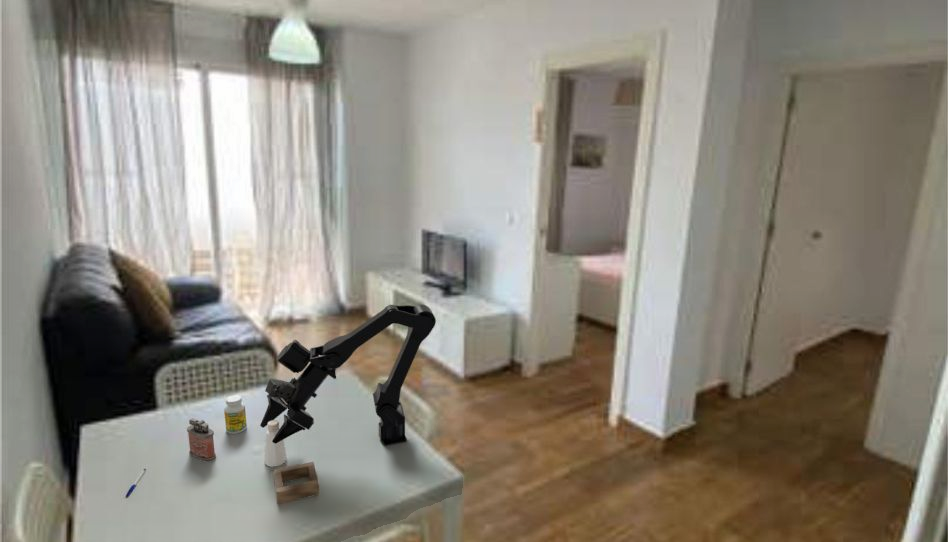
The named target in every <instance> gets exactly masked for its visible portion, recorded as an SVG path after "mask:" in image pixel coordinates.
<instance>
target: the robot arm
mask: <svg viewBox="0 0 948 542" xmlns="http://www.w3.org/2000/svg"><path fill="white" fill-rule="evenodd" d="M436 323H437V320H436V317H435V314H434V313H433V312H432V310H431V308H430V307H429V306H428V305H426V304H418V305H416V306H415V305H406V304H405V305H396V304H388V305H387V306H385V307H384V308H383V309H382V310H381V311H379V312H378V313H376V314H375V315H374V316H372V317H370V318H369V319H367V320H366V321H364V322H363V323H362V324H360V325H359V326H357V327H356V328H355V329H352V331H350V332H349V333H347V334H344V335H340V336H337V337H335V338H333V339H331V340H329V341H327V342H325V343H324V344H323V345H318V346H313V347H311V348H309V349H308V348H307V347H305V346H304V345H302V344H301V343H300V342H299V341H298V340H297V339H293V341H292V342H290V343H289V344H287V345H285V346H284V347H283V349H281V351H280V352H279V354H278V355H277V357H276V359H275V360H276V362H277V363H279V364H281V365H282V366H283V367H285V368H286V369H288V371H290V372H292V373H293V374H299V373H301V374H300V375H299V376H298V377H297V378H295V377H293V378H292V379H290V381H285V380H282V379H275V378H269V380H268V382H267V385H266V387H265V390H264V392H266V393H267V394H266V398H267V402H268V405H267V408H266V410H265V412H264V415H263V418H262V419H261V422H260V428H265V427H268V425H267V423H268V422H269V421H272V420H276V419H277V418H278V417H280V415H281V414H283V413H284V412H285V411H286V410H287V412H286V414H283V423H282V425H281V426H280V427H279V431H278V432H277V434H276V435H275V437H274V439H273V441H272V442H273V443H275V444H276V443H278V442H280V441H282V440H285V439H287V438H288V437H291V436H292V435H295V434H296V433H298V432H301V431H305V430H310V429H311V428H312V426H313V425H314V424H315V420H314V417H313V416H312V415H311V414H310V413H309V412H307V411H306V410H307V408H308V407H306V405H307V403H308V402H309V400H311V398H315V399H316V397H317V396H318V394H317V393H316V391H317V390H319V388H320V387H321V385H322V384H323V382H324V381H325V380H326V379H327V378H328V377H331V378H332V379H334V380H336V379H337V373H336V369H337V370H338V368H340V367H342V366H343V365H344V364H345V363H346V362H347V361H348V360H349V359H350V358H351V357H352V356H353V354H354V352H355V351H356V350H357V349H358V348H360V347H361V346H363V345H364V344H365V343H367V342H368V341H370V340H371V339H373V338H374V337H375V336H377V335H379V334H380V333H382V332H383V331H384V330H386V329H387V328H388V327H390V326H391V325H393V324H397V325H401V326H403V327H404V326H405V327H407V334H406V337H405V339H404V340H403V343H402V345H401V348H400V349H399V352H398V354H397V356H396V359H395V360H394V361H395V362H394V364H393V366H392V368H391V370H390V373H389V375H388V377H387V379H386V381H384V382H383V383H380V382H377V386H376V389H375V391H374V392H373V393H372V397H373V403H374V409H375V413H376V415H377V417H378V418H380V420H379V421H380V422H378V437H379V439H380V441H382V444H383V446H388V445H393V444H398V443H404V442H407V441H408V438H407V437H406V415H405V413H404V409H403V405H402V403H401V402H400V399H401V398H400V397H401V390H402V387H403V385H404V382H405V381H406V377H407V375H408V373H409V371H410V369H411V366H412V365H413V362H414V359H415V357H416V355H417V353H418V351H419V348H420V347H421V344H422V343H423V341H424V340H425V339H427V338H428V336H429V335H430V334H431V332H432V331H433V329H434V328H435V326H436Z"/></svg>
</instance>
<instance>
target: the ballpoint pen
mask: <svg viewBox="0 0 948 542" xmlns="http://www.w3.org/2000/svg"><path fill="white" fill-rule="evenodd" d="M146 471H147V469H146V468H144V469H142V471H141V472H140V474H139V475H138V476H137V478H136V480H135V482H134V483H133V484H132V485H131V486H130V488H129V489H128V491H127V492H126V494H125V498H128V497H129V496H130V495H132V493H133V491H134V489H135V488H136V487H137V484H138V483H139V481H140V480H141V478H142V477H143V475H144V474H145V472H146Z"/></svg>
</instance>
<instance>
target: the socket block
mask: <svg viewBox="0 0 948 542" xmlns="http://www.w3.org/2000/svg"><path fill="white" fill-rule="evenodd" d="M273 477H274V488H275V494H276V495H275V496H276V503H277V505H279V504H283V503H289V502H291V501H297V500H301V499H304V498H305V499H307V498H310V497H313V496H319V495H320V484H319V483H320V482H319V478H318V475H317V471H316V467H315V462H314V461H310V462H305V463H300V464H295V465H290V466H286V467H285V466H284V467H280V468H275V469H273ZM306 478H308V481H304V482H301V483H296V484H290V485H287V486H284V484H283V483H286V482H285V481H288V482H292V481H297V480H301V479H306ZM291 480H292V481H291ZM282 482H283V483H282ZM288 501H289V502H288Z"/></svg>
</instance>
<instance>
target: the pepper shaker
mask: <svg viewBox="0 0 948 542" xmlns="http://www.w3.org/2000/svg"><path fill="white" fill-rule="evenodd" d="M279 429H280V421H279V420H277V419H274V420H272V421H269V422H268V423H267V431H266V432H265V440H264V441H265V446H264V460H263V461H264V464H265V465H266V466H271V467H273V466H277V467H279V466H282V465H284V464H285V462H286V461H287V459H288V458H287V456H288V455H287V453H286V447H285V439H283V440H282V441H280V442H278V443H276V444H275V443H273V442H272V441H273V439H274V437H275V435H276V434H277V432H278V431H279ZM283 463H284V464H283Z"/></svg>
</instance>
